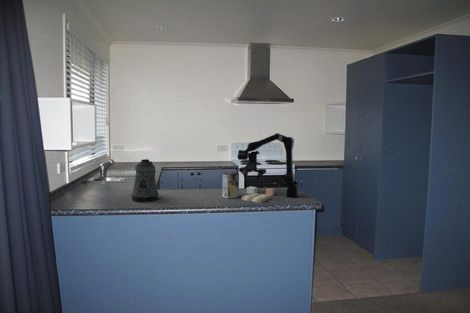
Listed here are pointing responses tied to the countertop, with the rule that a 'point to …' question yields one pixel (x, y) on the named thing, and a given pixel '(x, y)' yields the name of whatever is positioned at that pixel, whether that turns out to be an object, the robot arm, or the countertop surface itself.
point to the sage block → (252, 190)
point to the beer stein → (145, 182)
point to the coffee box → (230, 185)
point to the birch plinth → (256, 197)
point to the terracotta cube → (270, 191)
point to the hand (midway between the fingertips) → (252, 182)
